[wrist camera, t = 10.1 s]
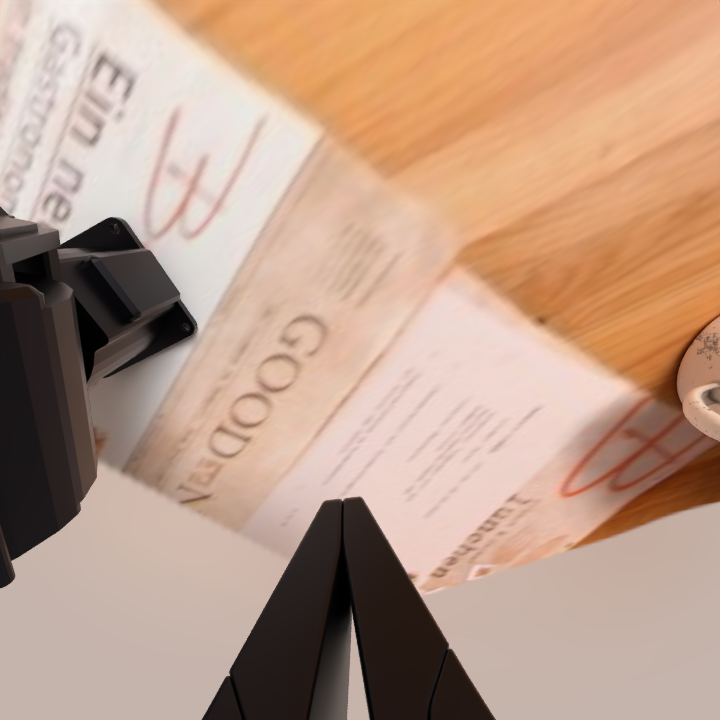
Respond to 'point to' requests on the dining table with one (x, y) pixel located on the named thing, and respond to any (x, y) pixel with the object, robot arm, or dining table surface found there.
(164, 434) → the dining table surface
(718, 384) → the teacup with lid
